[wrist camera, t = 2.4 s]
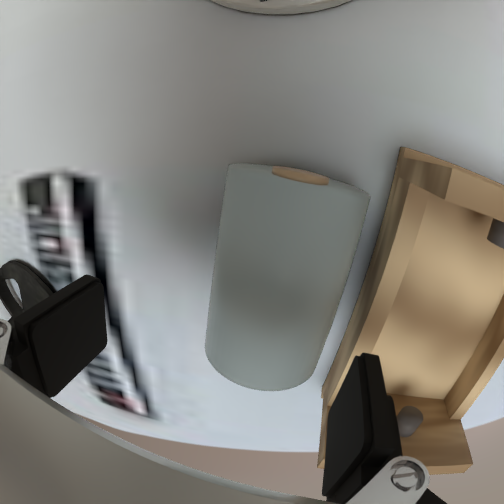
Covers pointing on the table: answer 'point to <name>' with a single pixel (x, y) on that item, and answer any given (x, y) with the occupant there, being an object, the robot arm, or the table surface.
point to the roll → (279, 272)
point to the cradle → (431, 306)
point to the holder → (21, 288)
